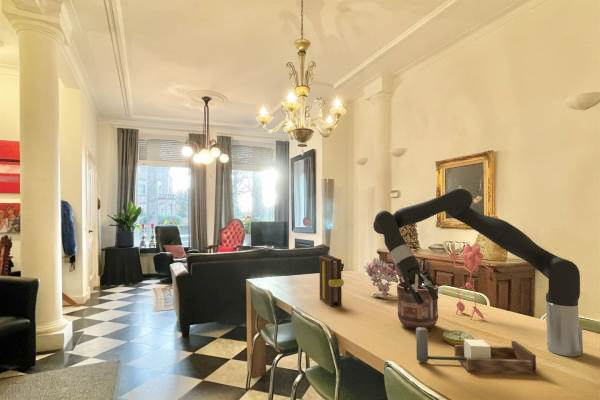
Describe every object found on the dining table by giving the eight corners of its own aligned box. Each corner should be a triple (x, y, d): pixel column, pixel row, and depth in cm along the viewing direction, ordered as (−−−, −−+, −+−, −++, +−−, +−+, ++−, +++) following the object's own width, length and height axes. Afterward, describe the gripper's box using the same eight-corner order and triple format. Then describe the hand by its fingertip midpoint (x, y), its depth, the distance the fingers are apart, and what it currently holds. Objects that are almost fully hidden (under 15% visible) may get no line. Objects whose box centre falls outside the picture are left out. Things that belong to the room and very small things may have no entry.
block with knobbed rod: (483, 358, 115) (482, 328, 115) (491, 366, 109) (490, 334, 109) (414, 355, 117) (414, 326, 118) (418, 363, 111) (418, 331, 112)
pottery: (443, 334, 140) (442, 290, 141) (398, 331, 144) (398, 288, 145) (435, 321, 158) (434, 282, 159) (395, 319, 161) (395, 281, 162)
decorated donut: (455, 336, 139) (455, 327, 139) (480, 345, 130) (479, 335, 130) (437, 340, 134) (437, 330, 135) (461, 350, 125) (461, 339, 125)
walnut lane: (515, 358, 117) (515, 341, 117) (536, 375, 105) (535, 355, 105) (454, 356, 119) (454, 339, 119) (468, 372, 107) (467, 352, 107)
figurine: (484, 325, 152) (483, 246, 154) (442, 310, 176) (442, 242, 178) (510, 322, 157) (508, 245, 159) (466, 308, 181) (465, 241, 183)
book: (316, 298, 202) (316, 255, 203) (330, 297, 205) (329, 255, 206) (331, 308, 181) (330, 260, 182) (345, 306, 184) (345, 259, 185)
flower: (414, 296, 200) (402, 255, 212) (385, 296, 189) (374, 254, 201) (390, 304, 215) (380, 266, 227) (363, 305, 204) (354, 265, 216)
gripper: (410, 262, 131) (433, 302, 123) (385, 267, 123) (408, 310, 115) (423, 252, 127) (448, 293, 119) (399, 256, 118) (424, 300, 110)
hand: (428, 301), depth 117 cm, fingers open, 8 cm apart
